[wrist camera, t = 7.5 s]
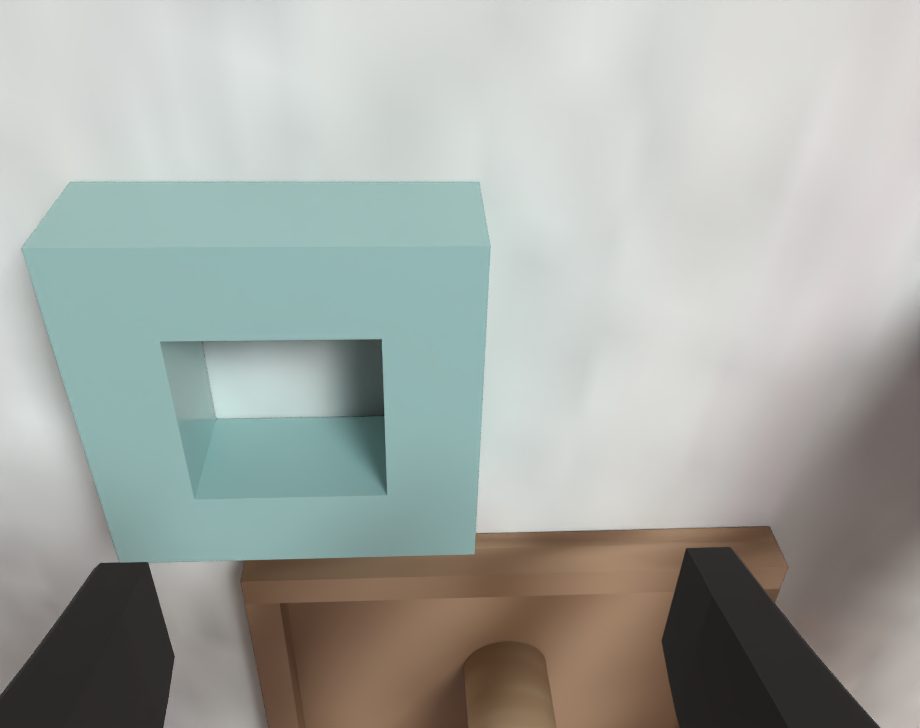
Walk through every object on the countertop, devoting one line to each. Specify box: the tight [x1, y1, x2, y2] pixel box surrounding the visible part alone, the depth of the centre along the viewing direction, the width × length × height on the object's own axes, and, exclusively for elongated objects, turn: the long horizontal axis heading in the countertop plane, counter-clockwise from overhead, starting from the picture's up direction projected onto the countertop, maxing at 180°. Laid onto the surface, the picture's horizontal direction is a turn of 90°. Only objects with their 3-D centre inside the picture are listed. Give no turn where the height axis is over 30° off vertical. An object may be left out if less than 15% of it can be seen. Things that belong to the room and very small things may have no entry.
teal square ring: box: [21, 182, 491, 563], centre depth 21 cm, size 9×9×3 cm
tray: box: [241, 527, 788, 728], centre depth 29 cm, size 16×12×2 cm
